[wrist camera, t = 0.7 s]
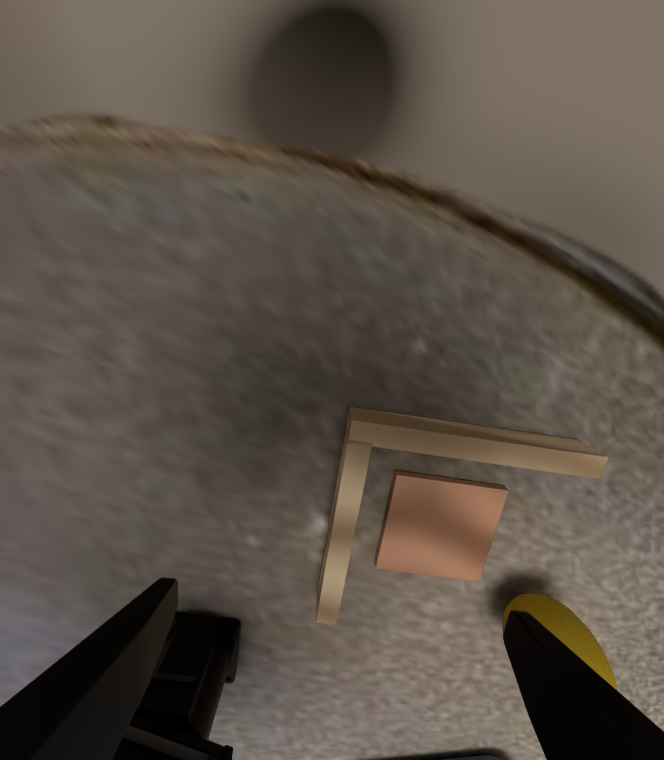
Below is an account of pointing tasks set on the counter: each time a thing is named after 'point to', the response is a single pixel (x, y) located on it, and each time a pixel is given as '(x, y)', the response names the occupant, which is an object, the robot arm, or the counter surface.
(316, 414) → the counter surface
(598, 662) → the lemon
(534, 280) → the counter surface
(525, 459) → the wooden corner frame
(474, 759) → the grey taped box
